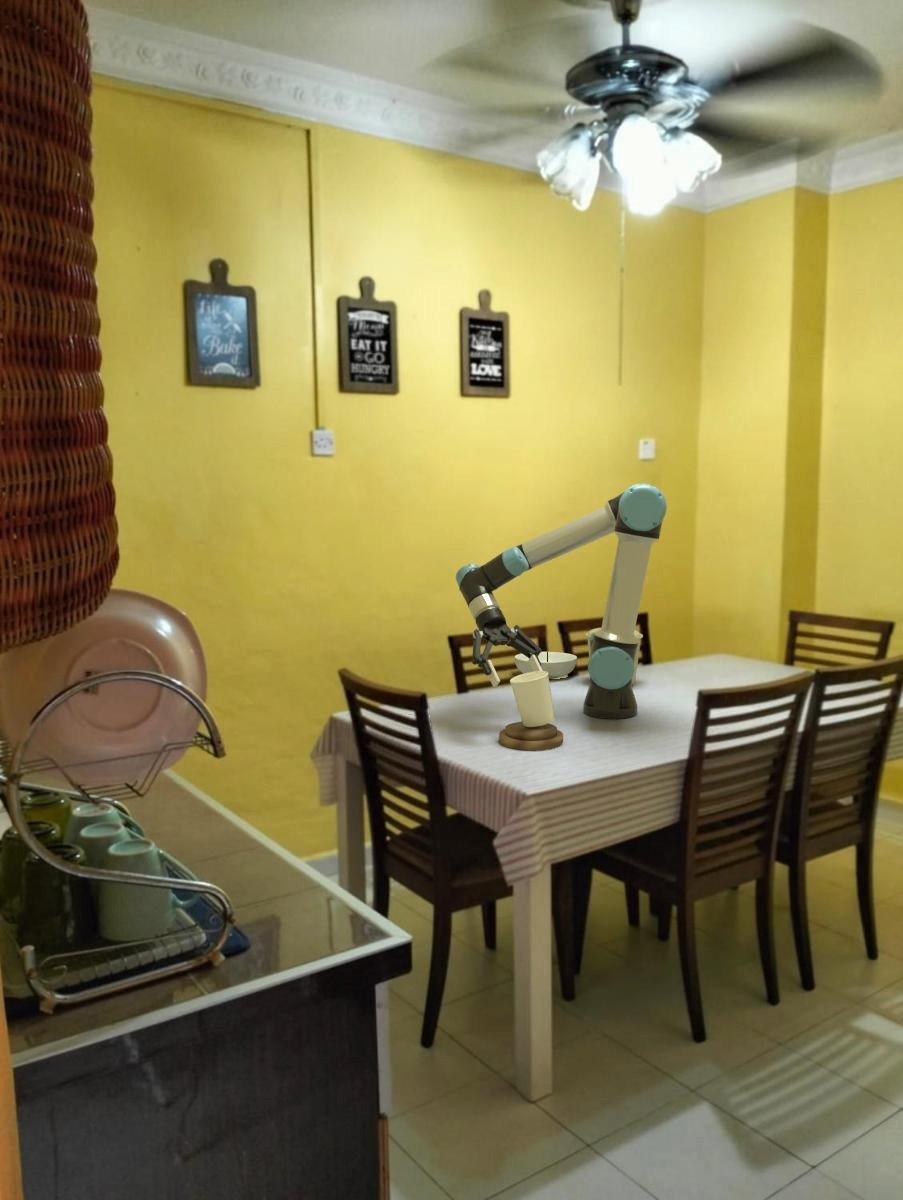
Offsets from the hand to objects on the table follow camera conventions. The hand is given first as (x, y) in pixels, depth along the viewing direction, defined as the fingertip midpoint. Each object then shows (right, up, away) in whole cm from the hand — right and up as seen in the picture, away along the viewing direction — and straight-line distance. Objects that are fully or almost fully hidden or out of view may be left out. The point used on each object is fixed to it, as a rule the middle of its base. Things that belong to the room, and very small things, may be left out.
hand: (519, 681), depth 234 cm
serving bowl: (+14, -5, +77) cm, 78 cm away
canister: (+35, -7, +63) cm, 72 cm away
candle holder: (+5, -11, 0) cm, 12 cm away
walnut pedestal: (+3, -15, -2) cm, 15 cm away
